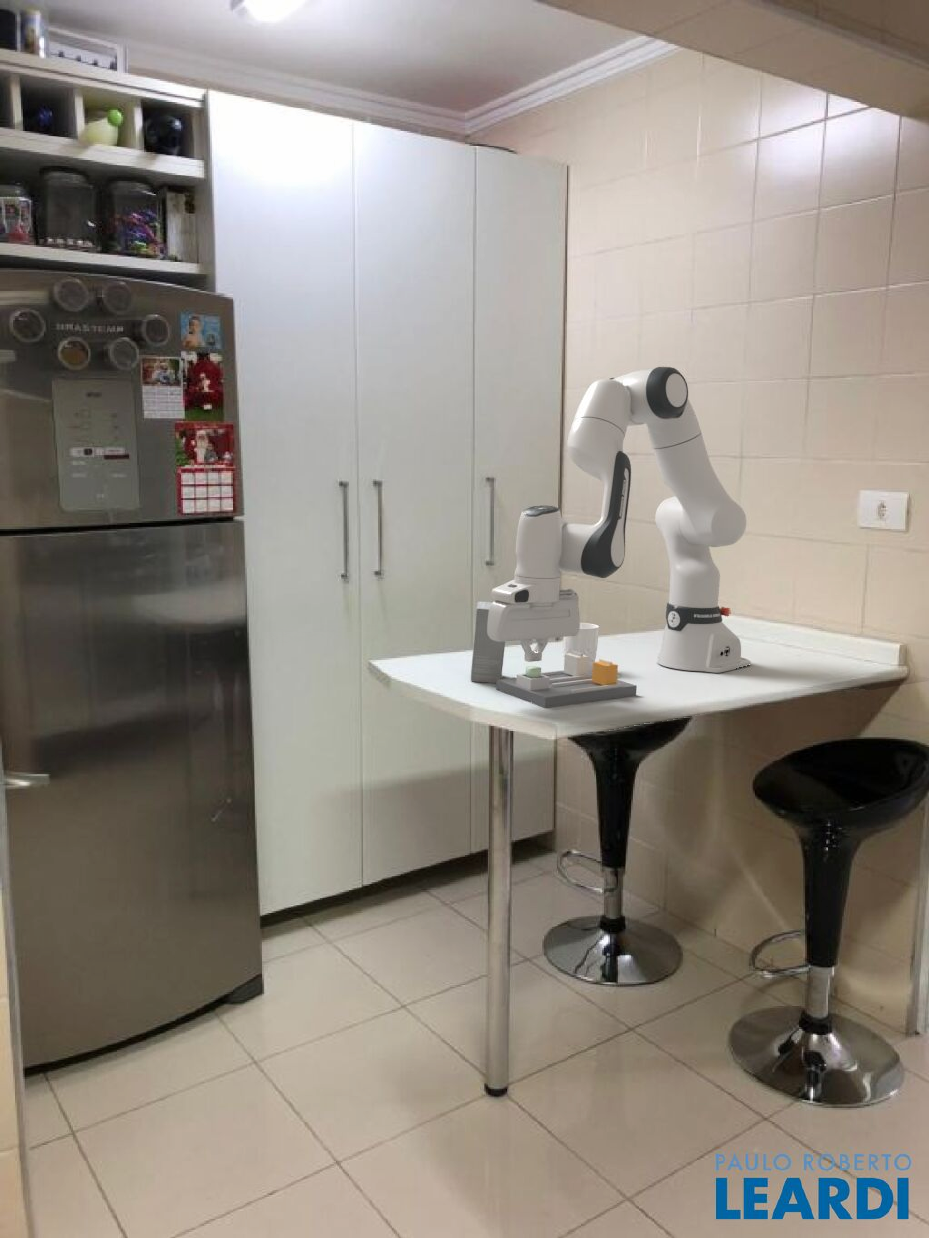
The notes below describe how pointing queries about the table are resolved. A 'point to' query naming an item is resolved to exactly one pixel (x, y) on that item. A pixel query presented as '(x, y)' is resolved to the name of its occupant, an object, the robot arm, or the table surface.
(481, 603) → the skincare box
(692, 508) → the robot arm
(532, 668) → the button
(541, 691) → the panel
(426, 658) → the table surface
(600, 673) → the slider
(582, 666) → the slider
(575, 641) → the white cup
